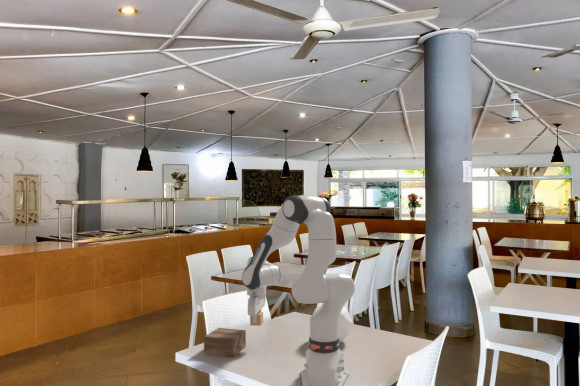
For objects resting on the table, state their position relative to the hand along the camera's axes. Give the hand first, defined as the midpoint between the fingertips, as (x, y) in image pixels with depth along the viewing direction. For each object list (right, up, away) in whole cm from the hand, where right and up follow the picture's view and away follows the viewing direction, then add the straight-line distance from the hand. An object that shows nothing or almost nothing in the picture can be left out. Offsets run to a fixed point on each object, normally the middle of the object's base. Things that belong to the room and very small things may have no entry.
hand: (256, 320), depth 200 cm
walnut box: (-14, -13, -4) cm, 19 cm away
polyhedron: (+35, -12, +7) cm, 38 cm away
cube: (0, -2, 0) cm, 2 cm away
